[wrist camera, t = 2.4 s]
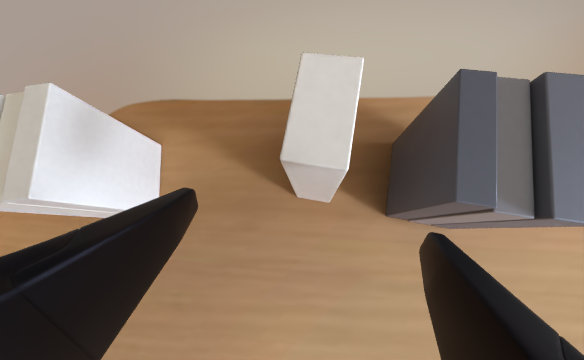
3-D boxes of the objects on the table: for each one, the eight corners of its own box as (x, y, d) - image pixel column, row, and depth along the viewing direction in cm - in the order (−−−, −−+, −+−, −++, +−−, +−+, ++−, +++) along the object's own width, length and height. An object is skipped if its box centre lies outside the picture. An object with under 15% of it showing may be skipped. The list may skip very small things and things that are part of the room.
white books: (158, 213, 21) (28, 198, 12) (106, 219, 22) (-62, 209, 12) (162, 145, 23) (50, 81, 13) (113, 151, 23) (-30, 93, 14)
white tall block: (329, 202, 20) (348, 170, 9) (296, 197, 20) (278, 159, 10) (338, 144, 21) (364, 56, 10) (307, 140, 22) (301, 51, 11)
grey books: (450, 228, 19) (601, 226, 9) (385, 217, 19) (458, 203, 10) (454, 150, 20) (586, 74, 10) (392, 142, 21) (463, 63, 11)
